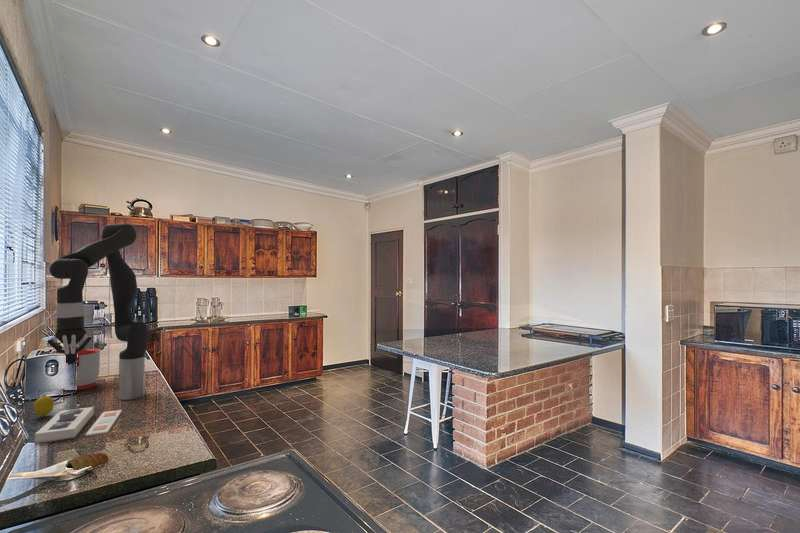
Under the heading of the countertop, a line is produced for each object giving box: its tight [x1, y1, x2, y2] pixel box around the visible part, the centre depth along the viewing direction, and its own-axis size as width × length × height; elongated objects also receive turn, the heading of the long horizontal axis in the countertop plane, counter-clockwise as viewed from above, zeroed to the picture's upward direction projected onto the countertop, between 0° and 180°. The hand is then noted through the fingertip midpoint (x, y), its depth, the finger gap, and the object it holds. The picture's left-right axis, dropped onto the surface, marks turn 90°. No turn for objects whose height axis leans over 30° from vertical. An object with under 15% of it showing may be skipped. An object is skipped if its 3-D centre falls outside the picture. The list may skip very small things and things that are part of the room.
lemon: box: [33, 395, 55, 418], centre depth 149 cm, size 6×6×8 cm
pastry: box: [64, 452, 109, 470], centre depth 111 cm, size 9×7×4 cm
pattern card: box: [85, 409, 123, 437], centre depth 143 cm, size 6×23×1 cm, turn 25°
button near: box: [52, 422, 68, 430], centre depth 132 cm, size 4×4×3 cm
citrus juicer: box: [76, 344, 101, 391], centre depth 184 cm, size 16×17×20 cm
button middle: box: [60, 411, 75, 422], centre depth 138 cm, size 4×4×3 cm
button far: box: [67, 408, 81, 414], centre depth 145 cm, size 4×4×3 cm
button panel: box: [34, 406, 95, 444], centre depth 138 cm, size 10×23×3 cm, turn 25°
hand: (71, 363), depth 140 cm, fingers closed
